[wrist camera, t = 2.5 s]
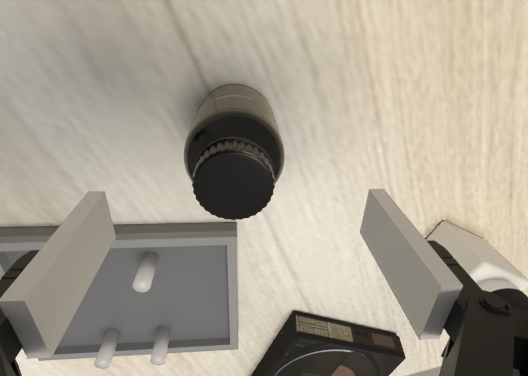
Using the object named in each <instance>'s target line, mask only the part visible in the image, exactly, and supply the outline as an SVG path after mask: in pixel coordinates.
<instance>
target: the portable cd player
mask: <svg viewBox="0 0 528 376" xmlns="http://www.w3.org/2000/svg"><path fill="white" fill-rule="evenodd" d="M404 359H405V355H404V351H403V348H402V345H401V341H400V338H399V337H398V336H397V335H396V334H393V333H389V332H384V331H380V330H375V329H371V328H366V327H362V326H357V325H353V324H348V323H344V322H339V321H335V320H330V319H326V318H321V317H317V316H312V315H308V314H303V313H299V312H294V311H293V312H292V313H291V315H290V317H289V318H288V320H287V321H286V323H285V324H284V326H283V327H282V329H281V330H280V332H279V334H278V335H277V337H276V338H275V340H274V341H273V343H272V344H271V346H270V347H269V349H268V350H267V352H266V354H265V355H264V357H263V358H262V360H261V361H260V363H259V364H258V366H257V367H256V369H255V371H254V372H253V374H252V375H251V376H389V375H390V374H391V373H392V372H393V371H394V370H395V369H396V368H397V366H398V365H399V364H400V363H401V362H402V361H403V360H404Z"/></svg>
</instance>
